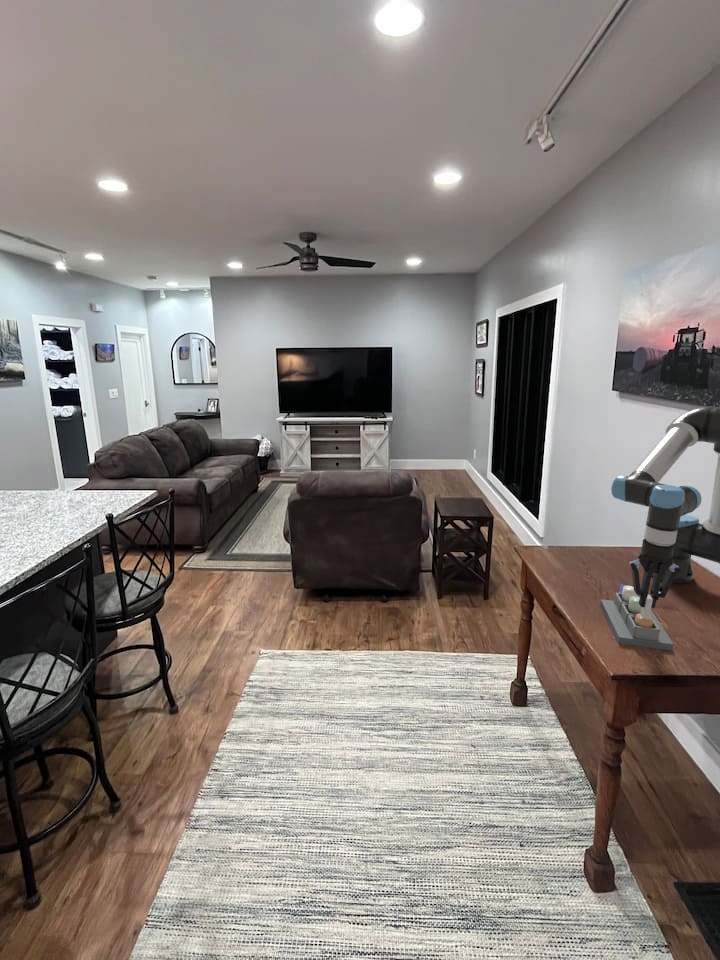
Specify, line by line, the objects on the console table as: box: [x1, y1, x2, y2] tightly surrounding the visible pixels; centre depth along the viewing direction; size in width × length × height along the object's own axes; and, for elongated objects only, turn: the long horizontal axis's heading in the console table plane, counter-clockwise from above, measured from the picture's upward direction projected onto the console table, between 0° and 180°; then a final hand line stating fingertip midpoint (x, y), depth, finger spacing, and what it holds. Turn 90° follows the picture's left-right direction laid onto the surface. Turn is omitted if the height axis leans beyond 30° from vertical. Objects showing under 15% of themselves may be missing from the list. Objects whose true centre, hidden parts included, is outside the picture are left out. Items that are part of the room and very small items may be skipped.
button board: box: [599, 592, 674, 651], centre depth 146 cm, size 14×22×6 cm, turn 167°
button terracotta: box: [635, 614, 653, 628], centre depth 138 cm, size 4×4×4 cm
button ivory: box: [621, 585, 638, 602], centre depth 151 cm, size 4×4×4 cm
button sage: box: [628, 596, 642, 614], centre depth 144 cm, size 4×4×4 cm
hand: (644, 616), depth 138 cm, fingers closed
